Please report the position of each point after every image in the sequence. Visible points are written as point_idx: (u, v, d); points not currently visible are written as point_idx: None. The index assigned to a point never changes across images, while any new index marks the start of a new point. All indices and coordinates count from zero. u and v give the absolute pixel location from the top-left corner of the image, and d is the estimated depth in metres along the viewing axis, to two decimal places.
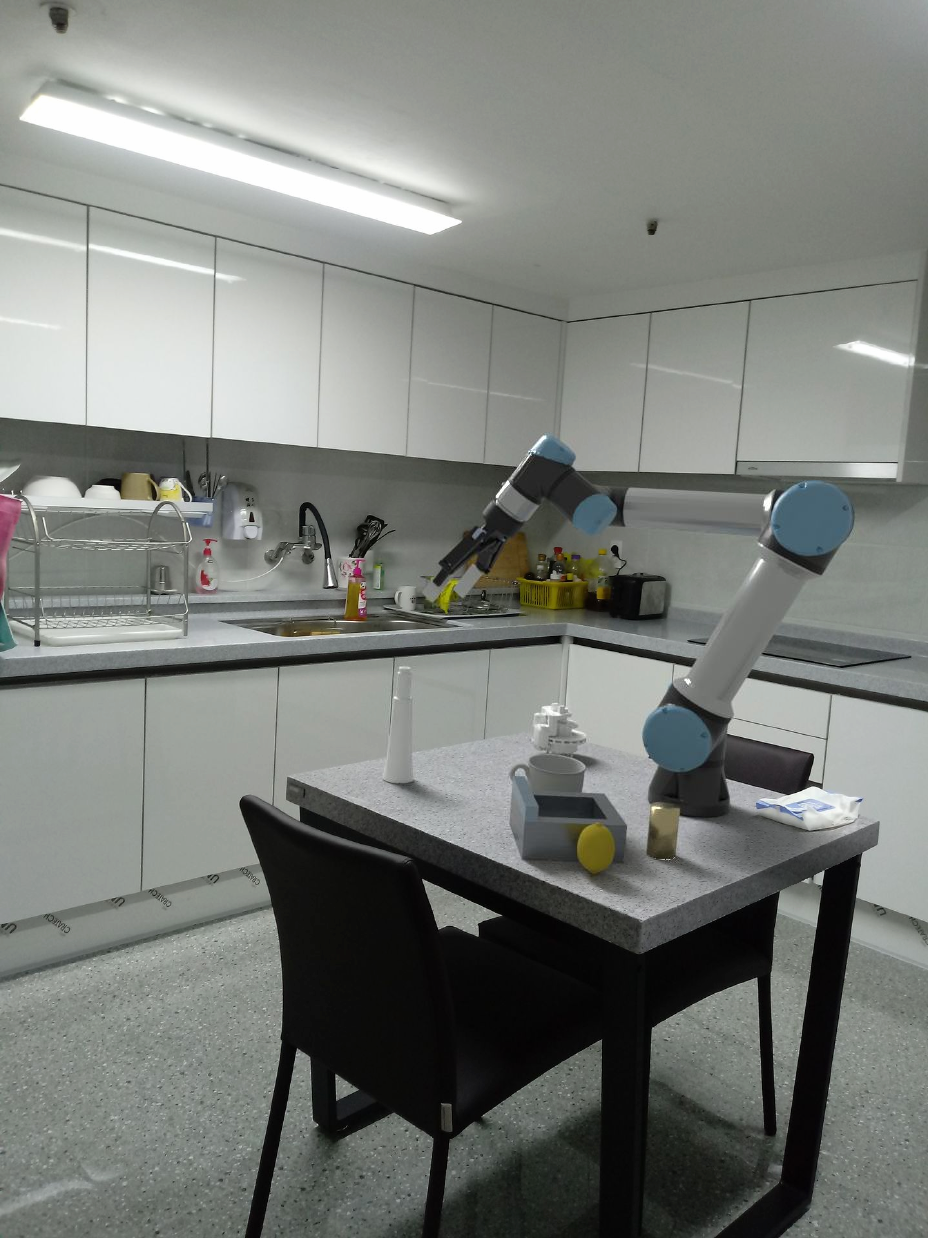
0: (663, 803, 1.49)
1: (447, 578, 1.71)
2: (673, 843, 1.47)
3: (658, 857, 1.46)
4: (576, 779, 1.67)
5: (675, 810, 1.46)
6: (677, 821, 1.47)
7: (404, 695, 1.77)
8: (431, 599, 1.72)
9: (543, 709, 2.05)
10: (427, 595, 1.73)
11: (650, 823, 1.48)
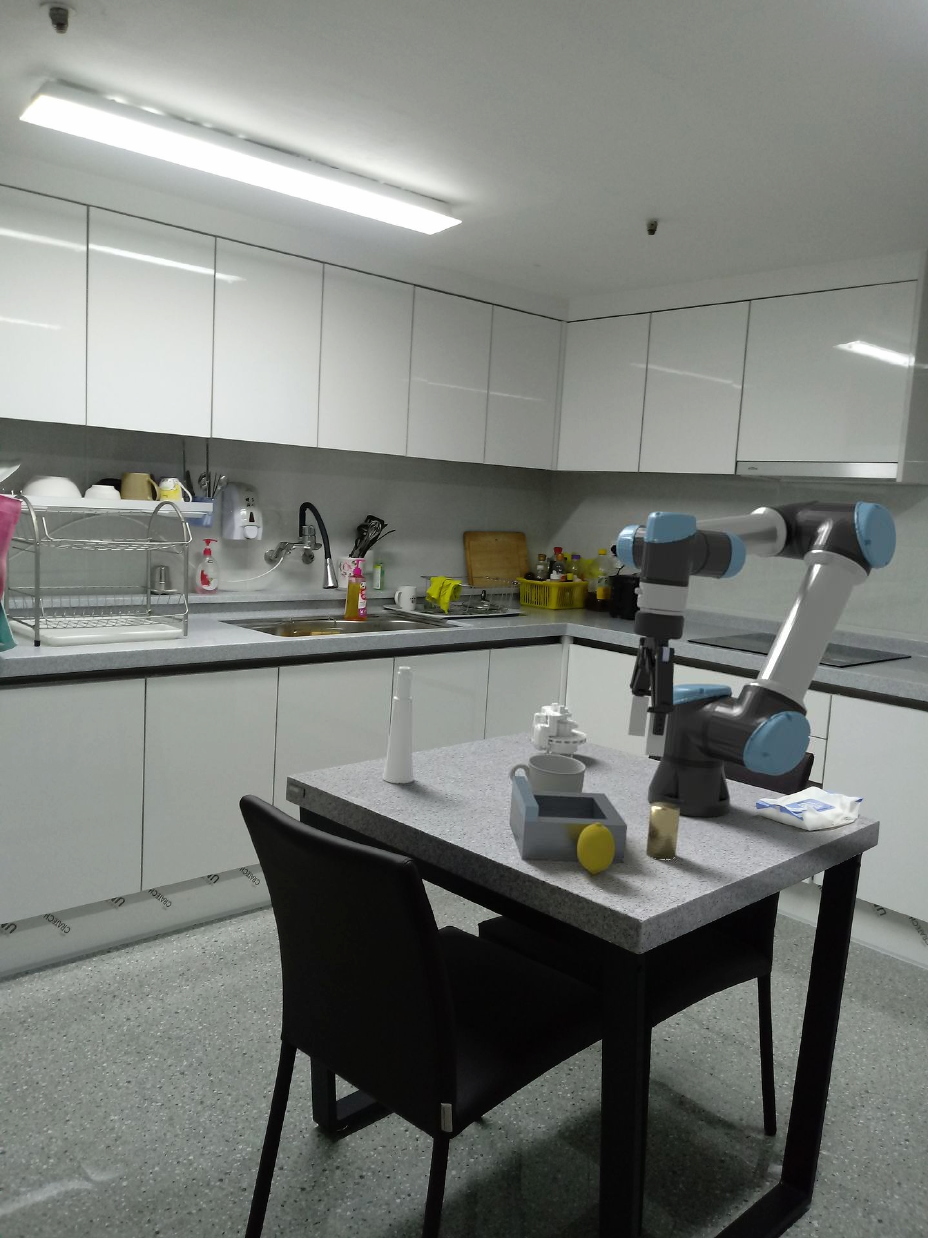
0: (663, 803, 1.49)
1: (664, 720, 1.39)
2: (673, 843, 1.47)
3: (658, 857, 1.46)
4: (576, 779, 1.67)
5: (675, 810, 1.46)
6: (677, 821, 1.47)
7: (404, 695, 1.77)
8: (660, 754, 1.40)
9: (543, 709, 2.05)
10: (653, 753, 1.40)
11: (650, 823, 1.48)
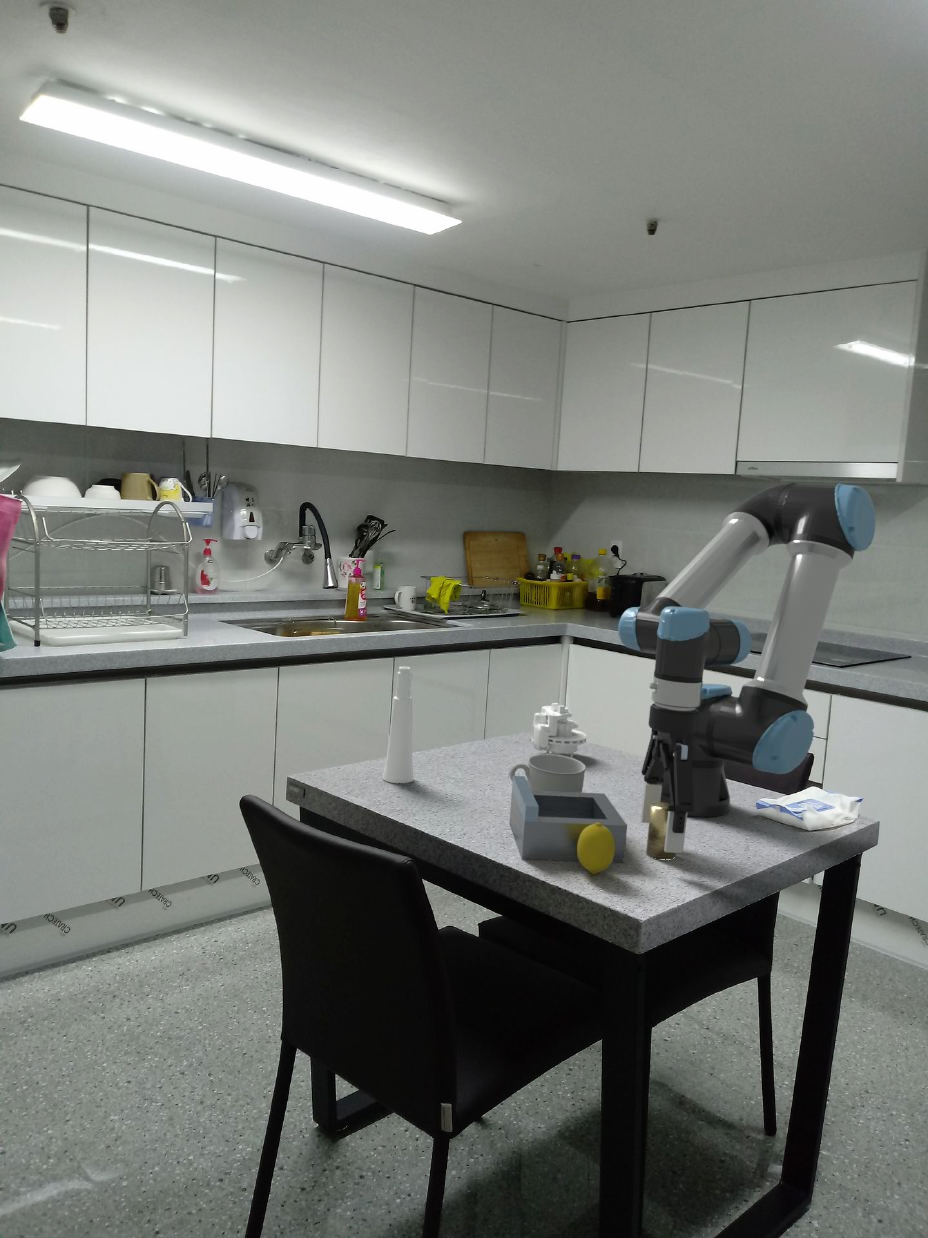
0: (663, 803, 1.49)
1: None
2: None
3: (658, 857, 1.46)
4: (576, 779, 1.67)
5: None
6: None
7: (404, 695, 1.77)
8: (680, 851, 1.41)
9: (543, 709, 2.05)
10: (673, 850, 1.41)
11: (650, 823, 1.48)
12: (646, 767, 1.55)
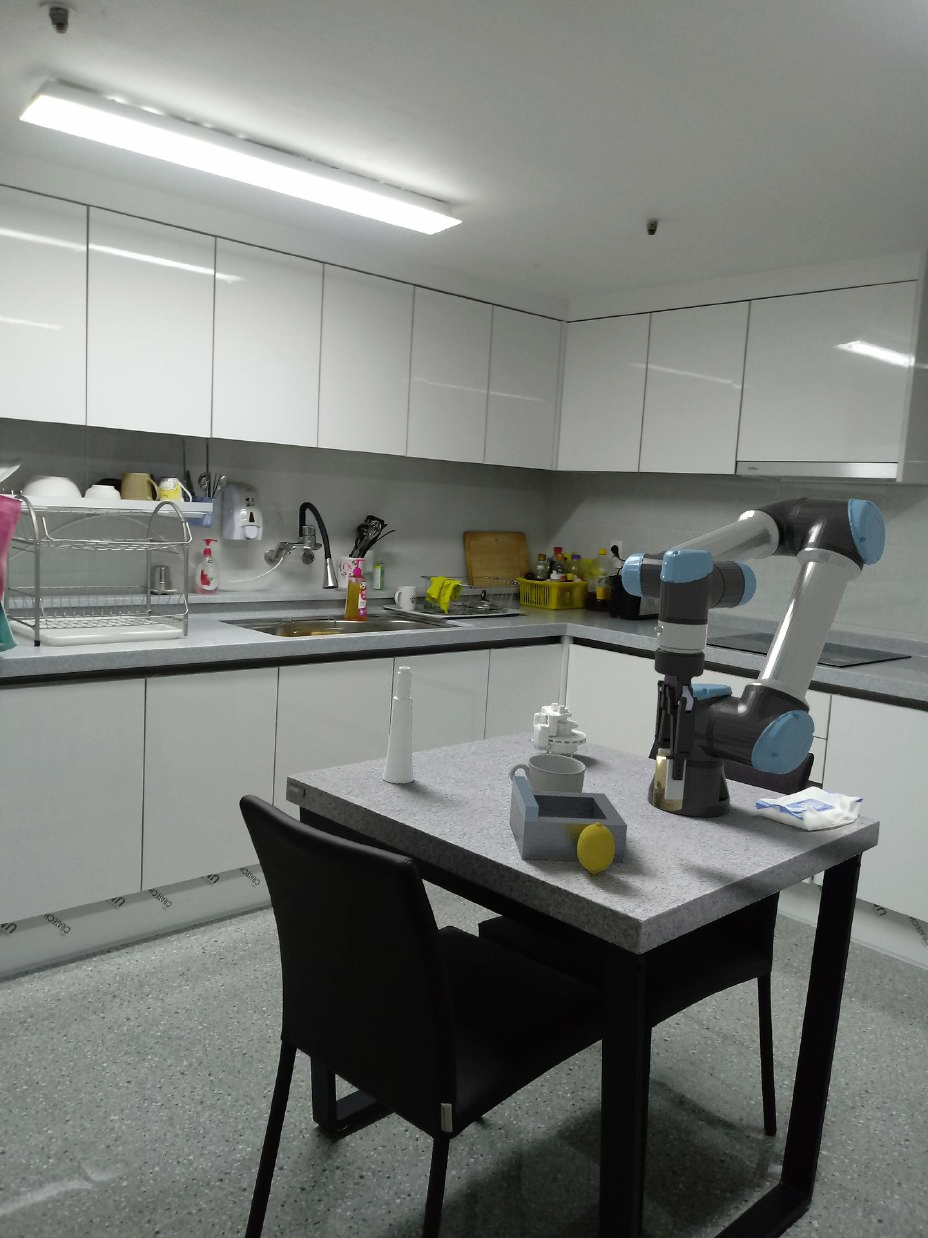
0: (669, 754, 1.49)
1: None
2: None
3: (664, 807, 1.46)
4: (576, 779, 1.67)
5: None
6: None
7: (404, 695, 1.77)
8: (680, 797, 1.45)
9: (543, 709, 2.05)
10: (673, 797, 1.45)
11: (656, 773, 1.47)
12: (658, 728, 1.51)
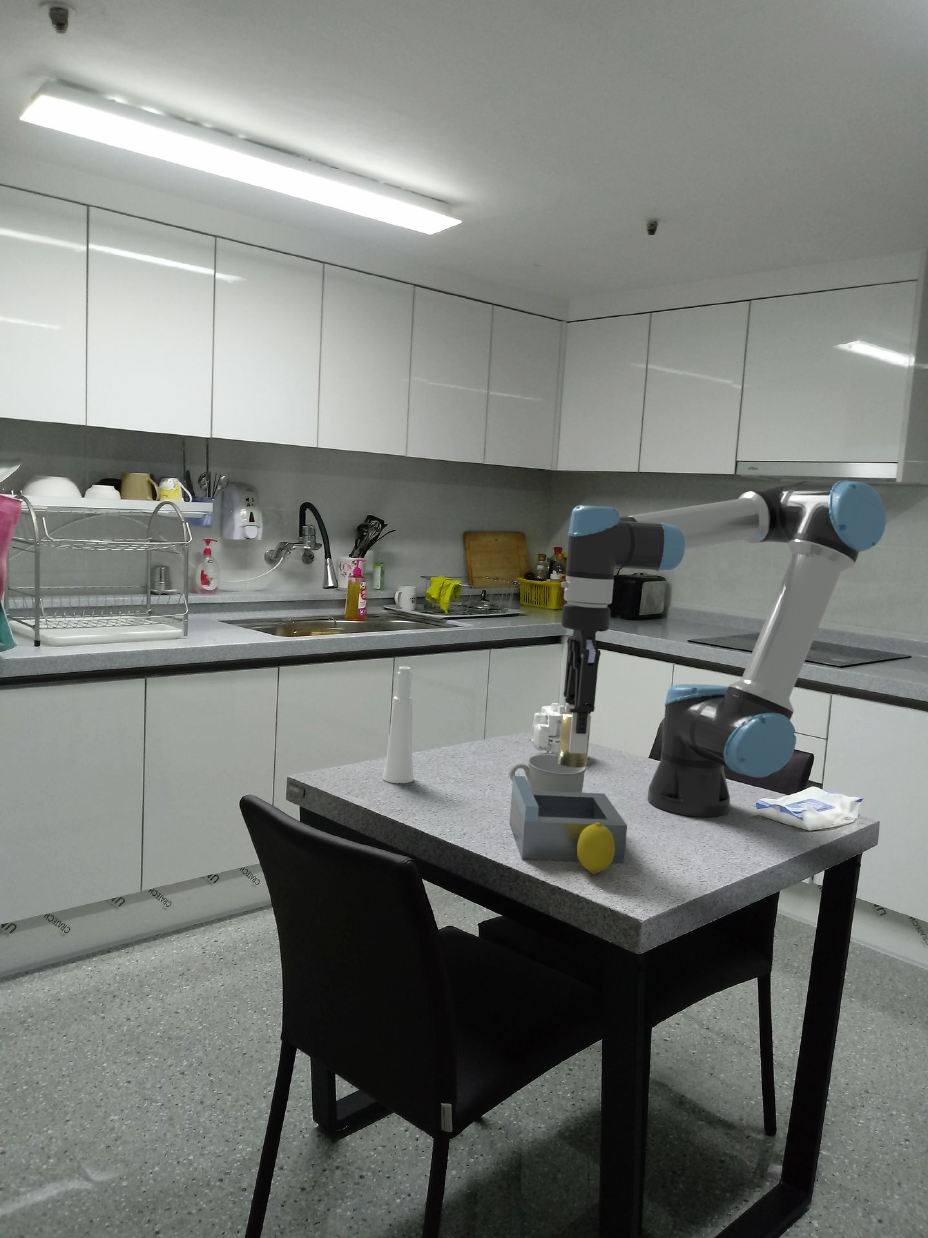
0: None
1: (587, 719, 1.46)
2: None
3: (568, 764, 1.47)
4: (576, 779, 1.67)
5: None
6: None
7: (404, 695, 1.77)
8: (584, 751, 1.46)
9: (543, 709, 2.05)
10: (577, 750, 1.46)
11: (561, 731, 1.48)
12: (567, 685, 1.53)
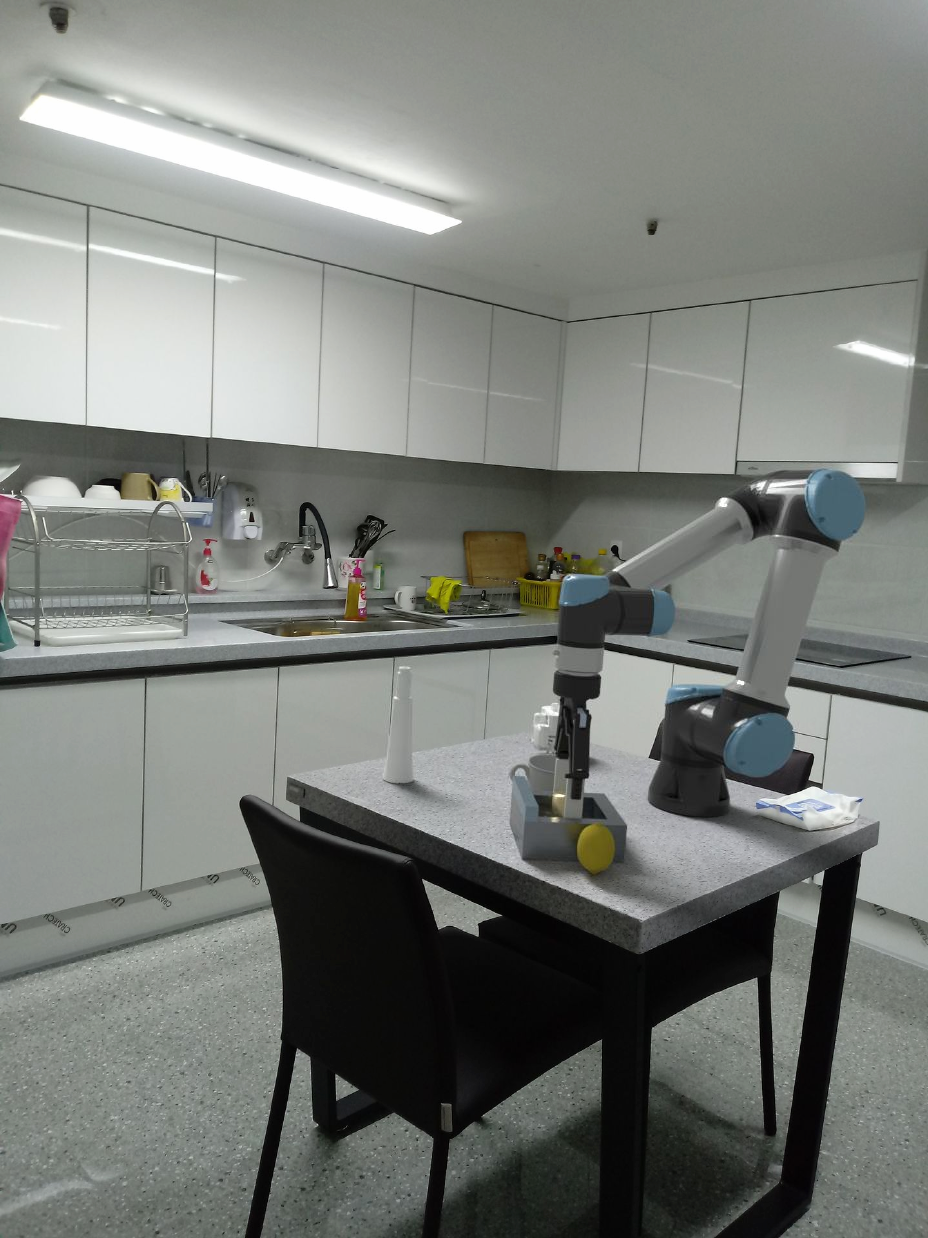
0: None
1: (582, 784, 1.45)
2: None
3: None
4: None
5: None
6: None
7: (404, 695, 1.77)
8: (579, 817, 1.45)
9: (543, 709, 2.05)
10: (572, 816, 1.45)
11: (552, 811, 1.50)
12: (557, 741, 1.56)
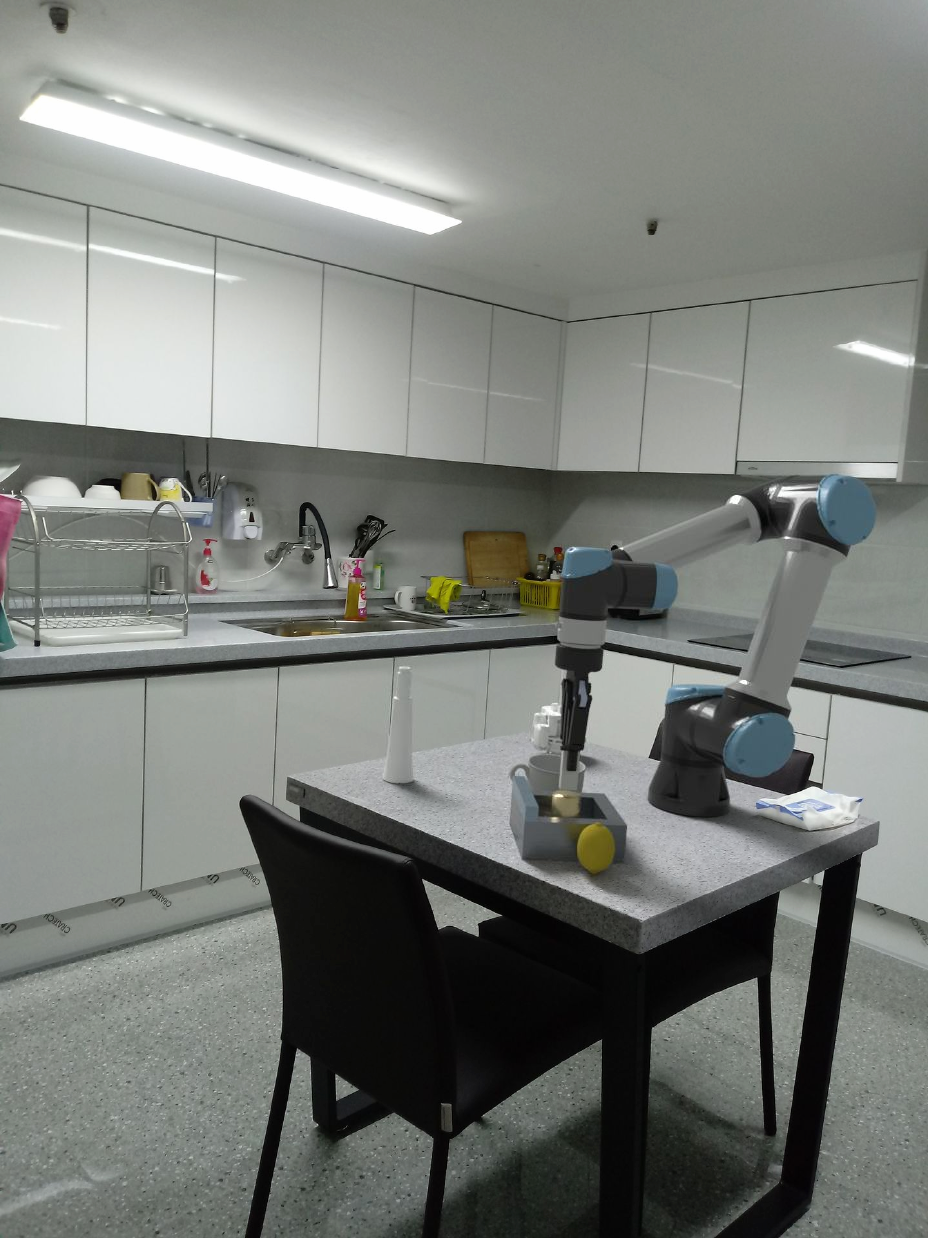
0: (566, 791, 1.52)
1: (577, 756, 1.49)
2: None
3: None
4: None
5: (576, 797, 1.49)
6: (578, 809, 1.49)
7: (404, 695, 1.77)
8: (574, 788, 1.50)
9: (543, 709, 2.05)
10: (568, 787, 1.50)
11: (552, 811, 1.50)
12: (563, 727, 1.52)
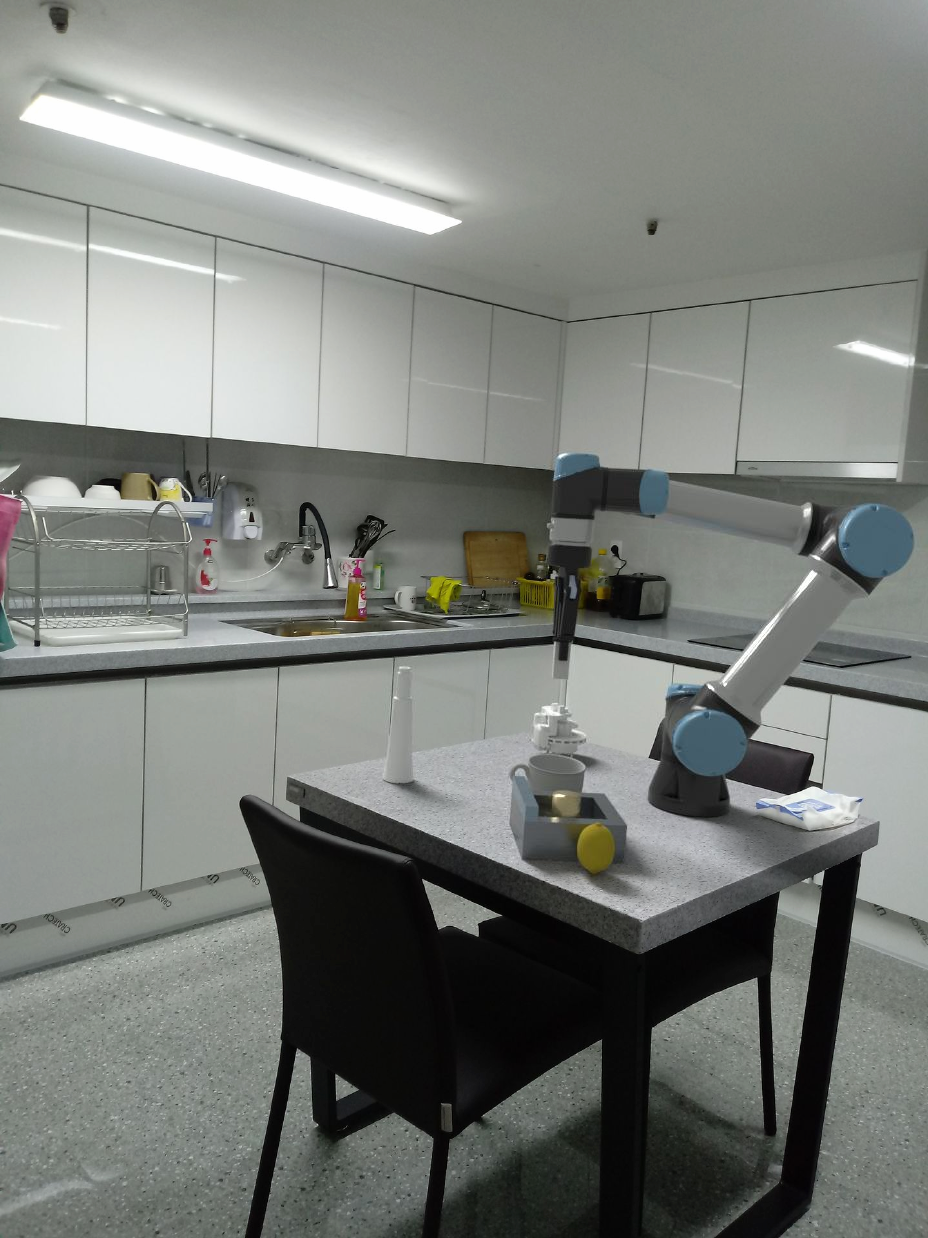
0: (566, 791, 1.52)
1: (568, 648, 1.62)
2: None
3: None
4: (576, 779, 1.67)
5: (576, 797, 1.49)
6: (578, 809, 1.49)
7: (404, 695, 1.77)
8: (566, 677, 1.63)
9: (543, 709, 2.05)
10: (560, 676, 1.63)
11: (552, 811, 1.50)
12: (555, 622, 1.65)
